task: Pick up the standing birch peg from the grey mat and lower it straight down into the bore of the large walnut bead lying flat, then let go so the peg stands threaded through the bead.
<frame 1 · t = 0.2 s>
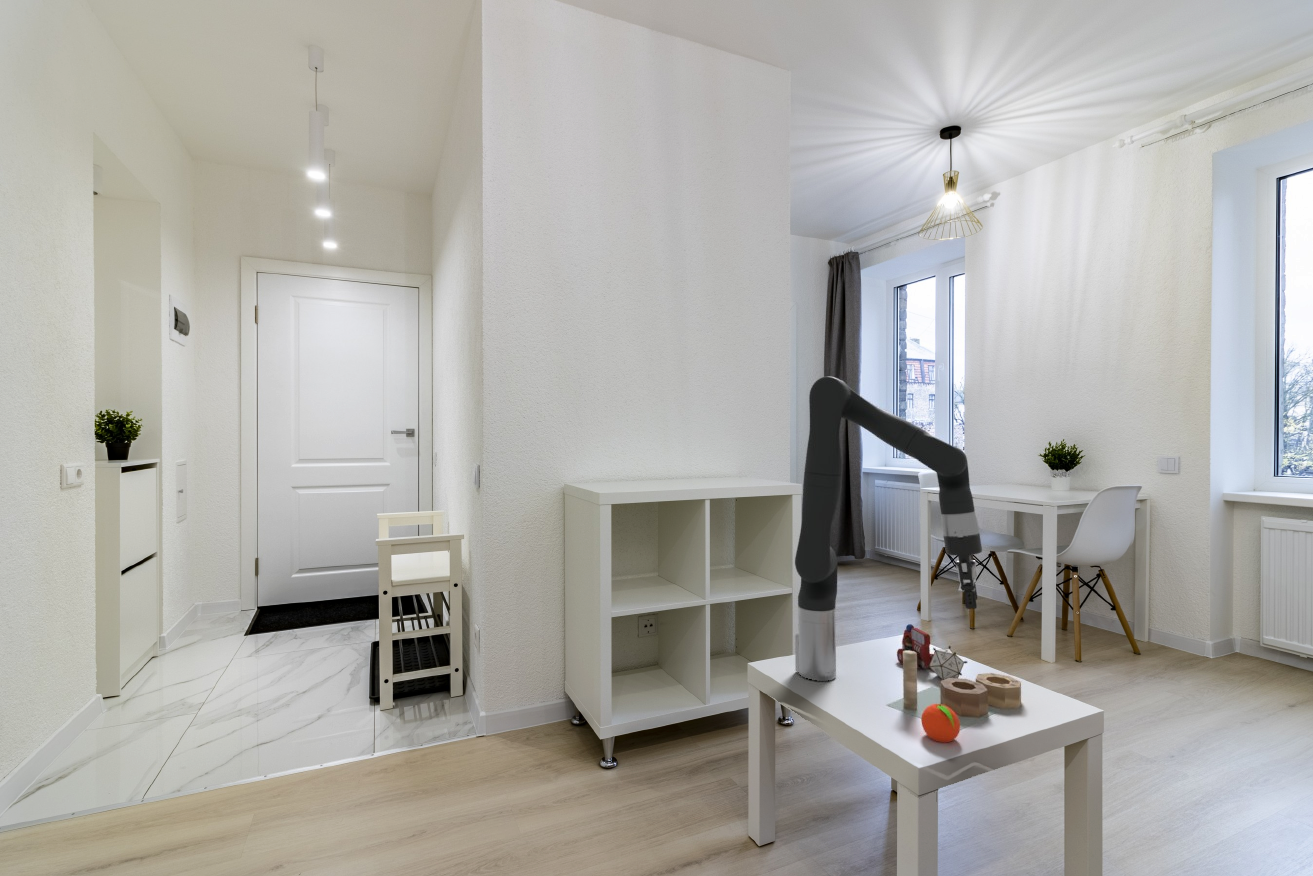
hand: (972, 604, 140), 22 cm above the table, tool pointing down, fingers open, 8 cm apart
game die: (946, 681, 153), on the table
grey mat: (943, 710, 135), on the table
red toy car: (916, 667, 162), on the table
walnut bead: (963, 708, 135), resting on grey mat
clementine: (942, 743, 121), on the table
birch peg: (910, 707, 135), point 1 cm above the table, touching grey mat
oak bead: (998, 702, 139), on the table
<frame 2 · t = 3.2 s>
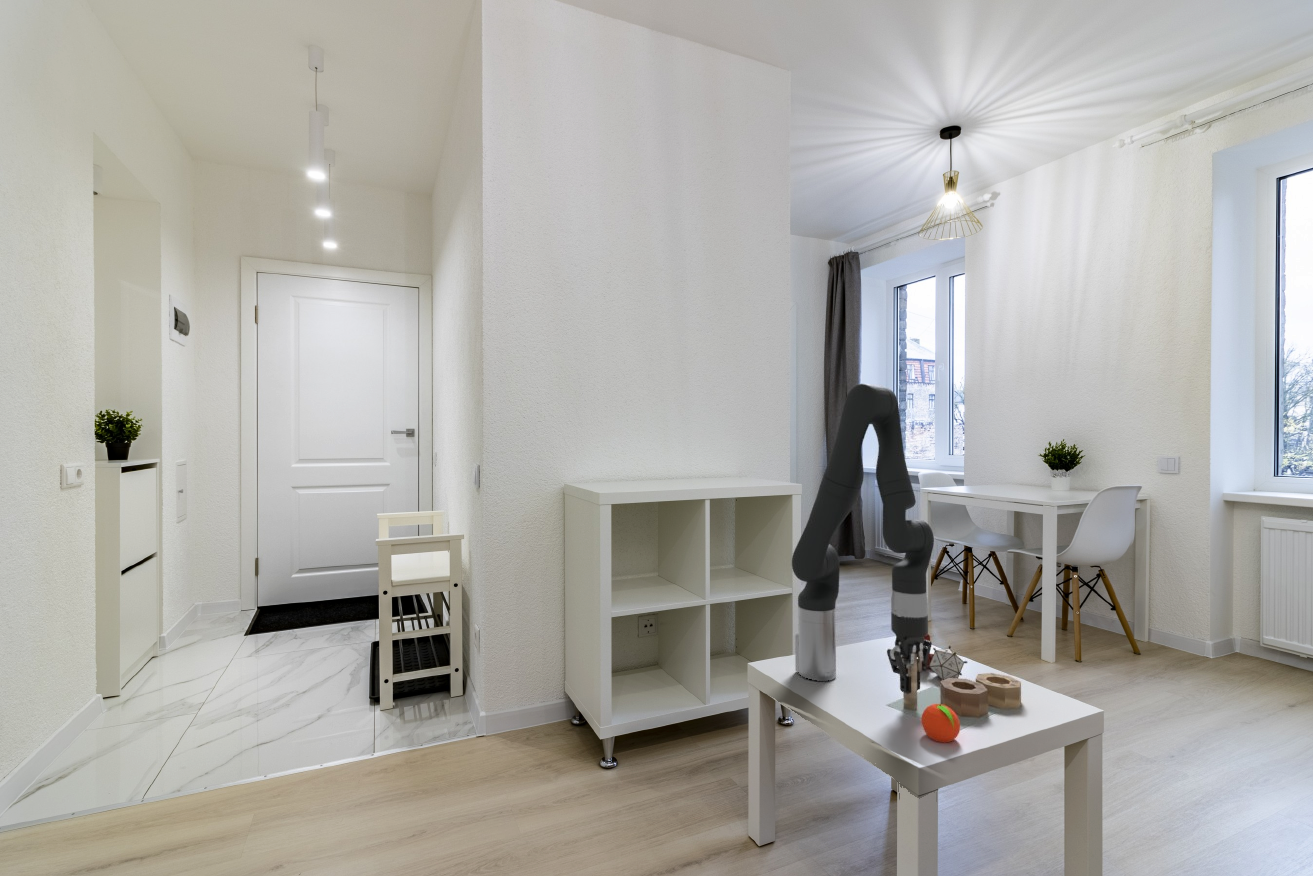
hand: (910, 690, 135), 4 cm above the table, tool pointing down, fingers closed on birch peg, 2 cm apart
birch peg: (910, 707, 135), point 1 cm above the table, touching grey mat, gripper
everything else where it was.
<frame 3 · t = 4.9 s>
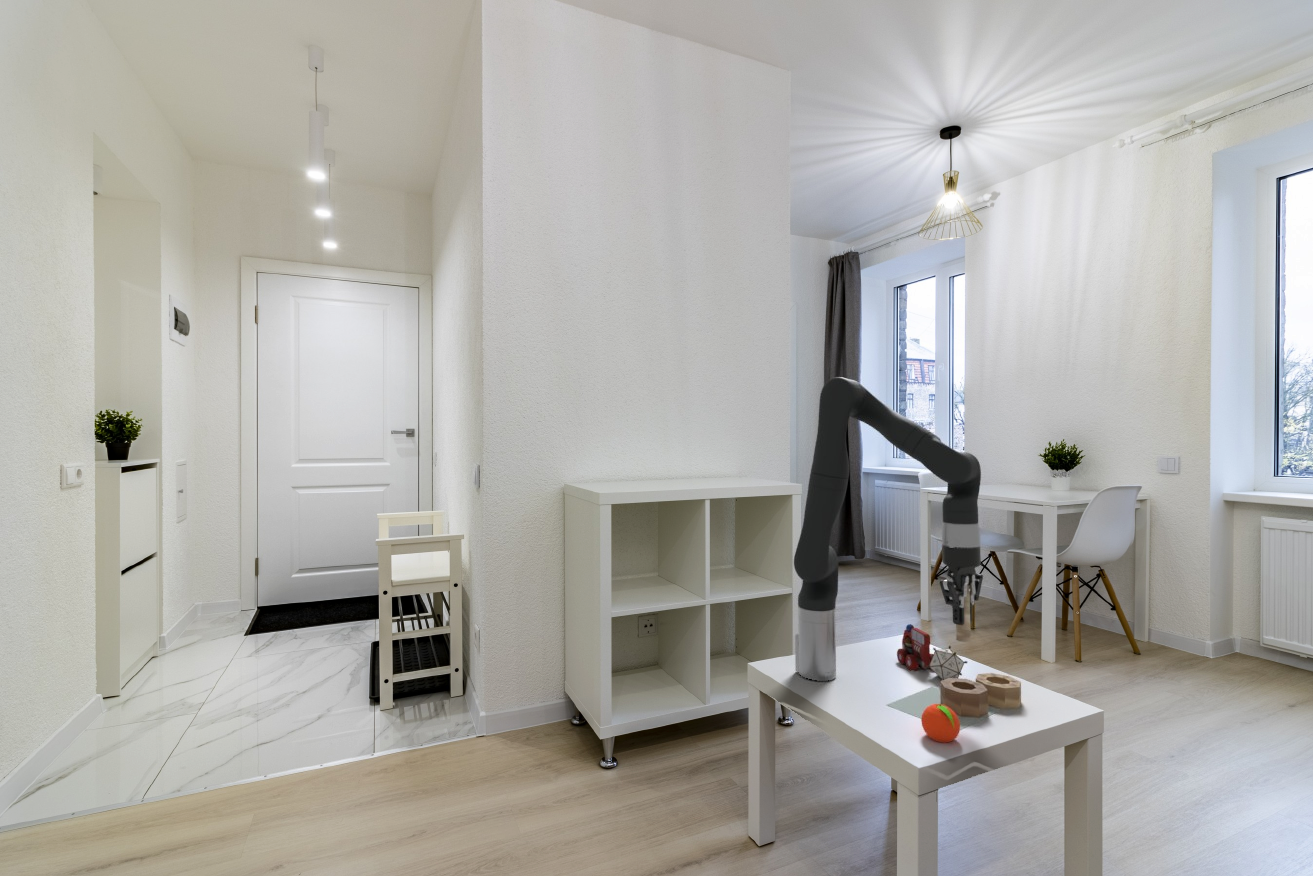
hand: (962, 622, 135), 19 cm above the table, tool pointing down, fingers closed on birch peg, 2 cm apart
birch peg: (963, 640, 135), point 16 cm above the table, touching gripper
everything else where it was.
when the fingers open (7 cm above the table, at t = 6.7 s): birch peg drops 2 cm, resting on grey mat.
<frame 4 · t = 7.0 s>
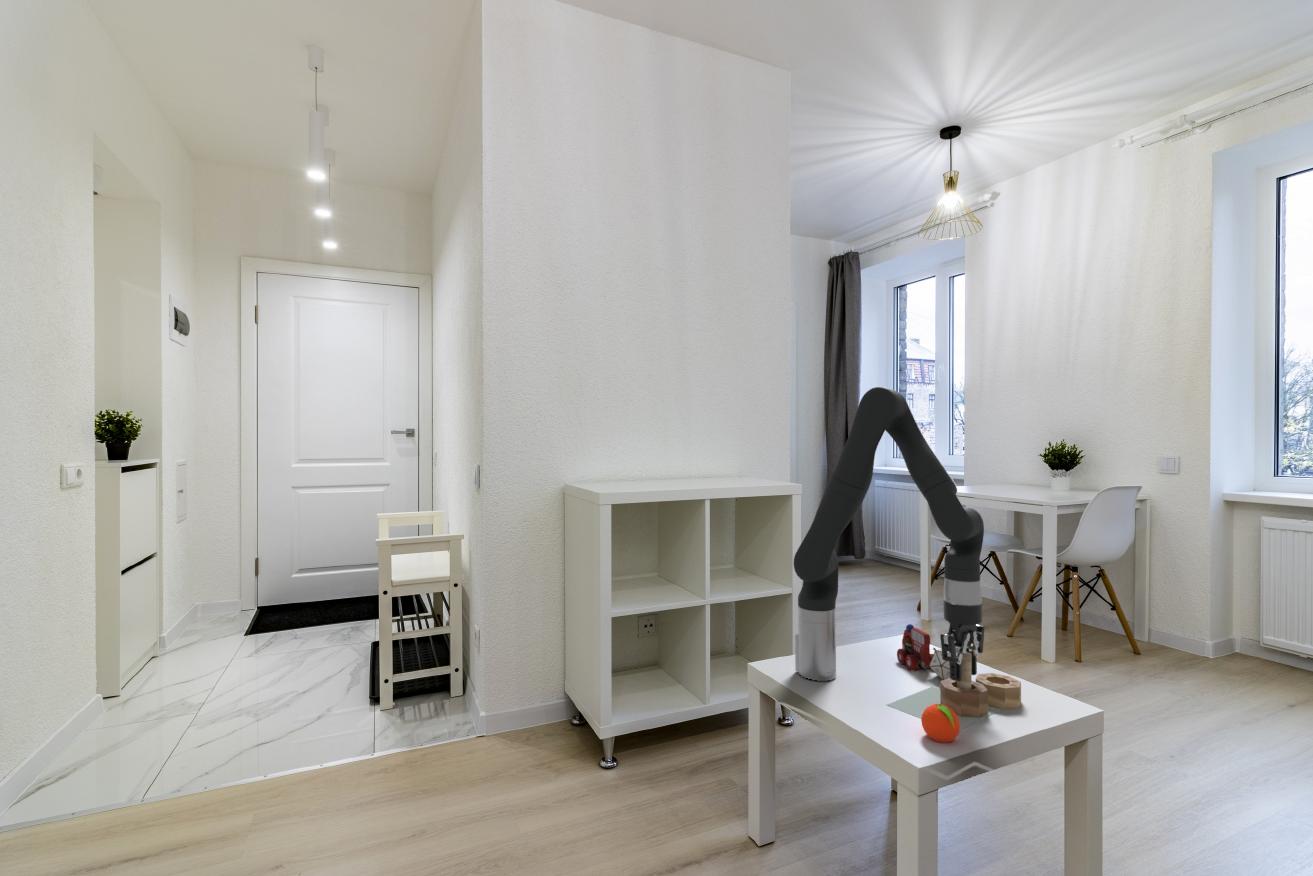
hand: (963, 676, 135), 8 cm above the table, tool pointing down, fingers open, 5 cm apart
birch peg: (964, 708, 135), point 1 cm above the table, touching grey mat
everything else where it was.
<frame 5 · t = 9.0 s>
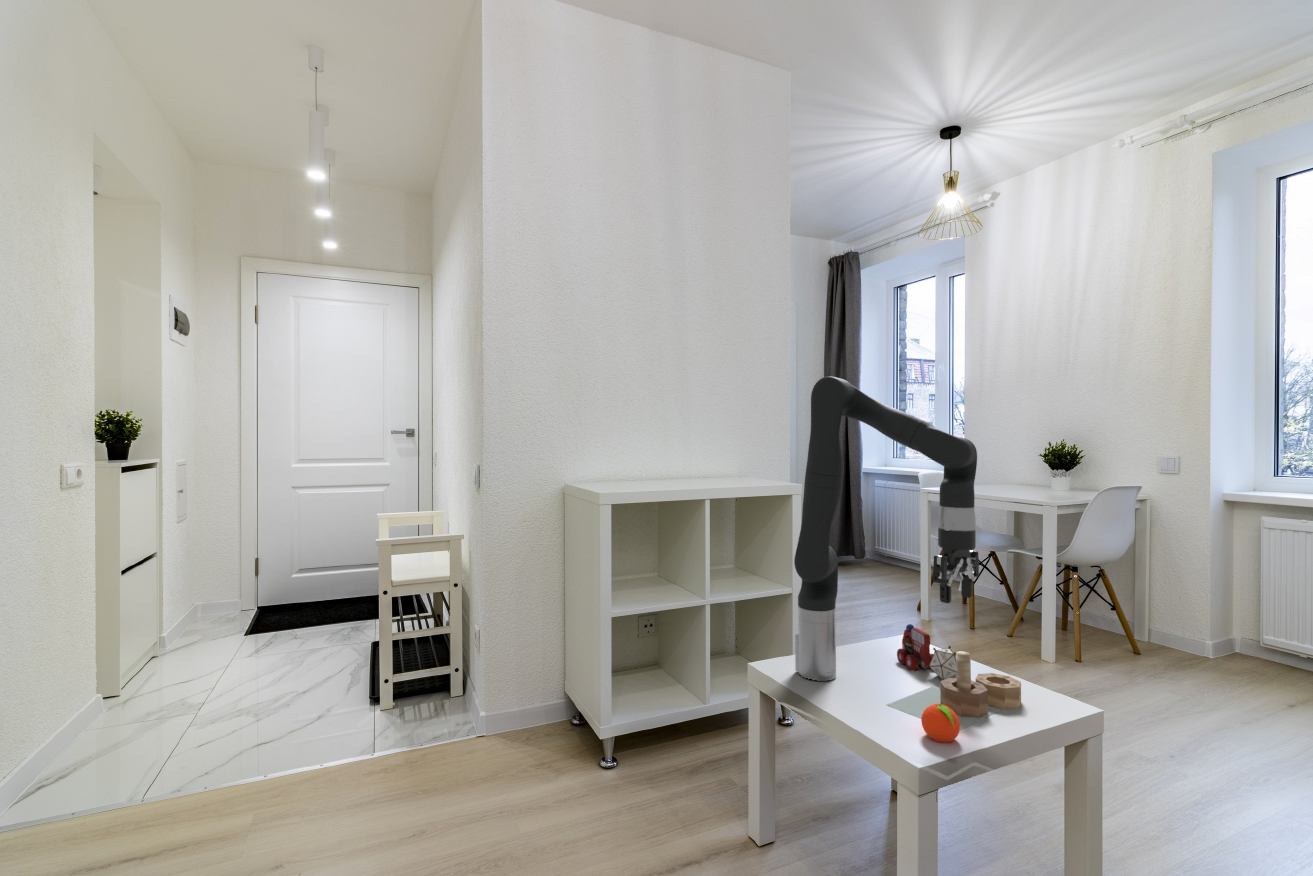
hand: (956, 599, 138), 24 cm above the table, tool pointing down, fingers open, 8 cm apart
nothing on the table moved.
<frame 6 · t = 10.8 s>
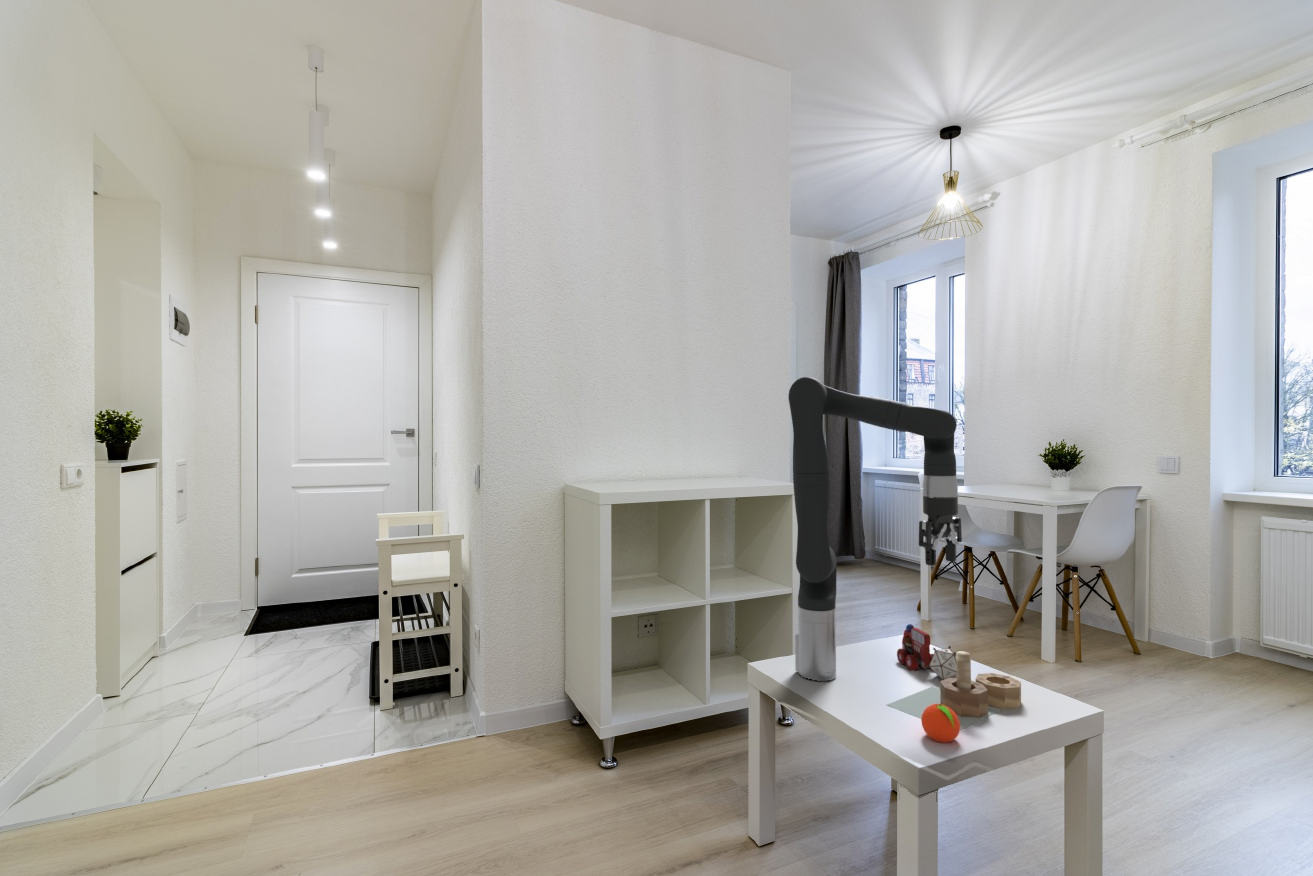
hand: (940, 563, 147), 30 cm above the table, tool pointing down, fingers open, 8 cm apart
nothing on the table moved.
at the end: birch peg 0.1 cm off-centre on the walnut bead, point 0.0 cm above the walnut bead's base; birch peg tilted 0°; the gripper is holding nothing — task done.
